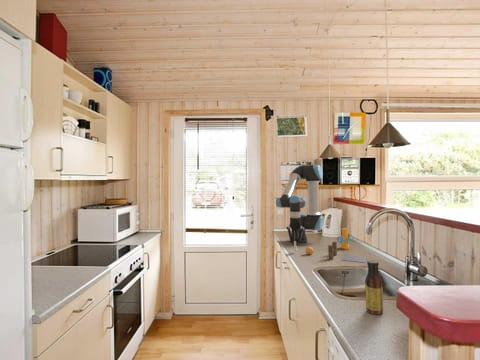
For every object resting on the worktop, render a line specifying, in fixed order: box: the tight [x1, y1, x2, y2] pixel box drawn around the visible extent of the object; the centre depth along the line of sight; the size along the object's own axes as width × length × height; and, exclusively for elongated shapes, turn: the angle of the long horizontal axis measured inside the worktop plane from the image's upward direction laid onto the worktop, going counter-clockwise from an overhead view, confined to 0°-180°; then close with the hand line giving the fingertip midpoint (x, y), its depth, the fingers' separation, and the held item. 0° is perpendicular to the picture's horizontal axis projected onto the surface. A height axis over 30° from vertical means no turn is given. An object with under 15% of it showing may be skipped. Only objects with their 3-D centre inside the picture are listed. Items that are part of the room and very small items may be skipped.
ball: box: [305, 246, 314, 256], centre depth 218 cm, size 6×6×6 cm
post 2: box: [331, 241, 338, 256], centre depth 216 cm, size 3×3×9 cm
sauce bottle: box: [364, 259, 384, 315], centre depth 122 cm, size 7×6×20 cm
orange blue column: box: [336, 227, 354, 250], centre depth 237 cm, size 12×10×15 cm
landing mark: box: [341, 255, 368, 264], centre depth 204 cm, size 14×14×1 cm
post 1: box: [327, 244, 334, 261], centre depth 205 cm, size 3×3×9 cm
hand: (295, 250), depth 223 cm, fingers closed
